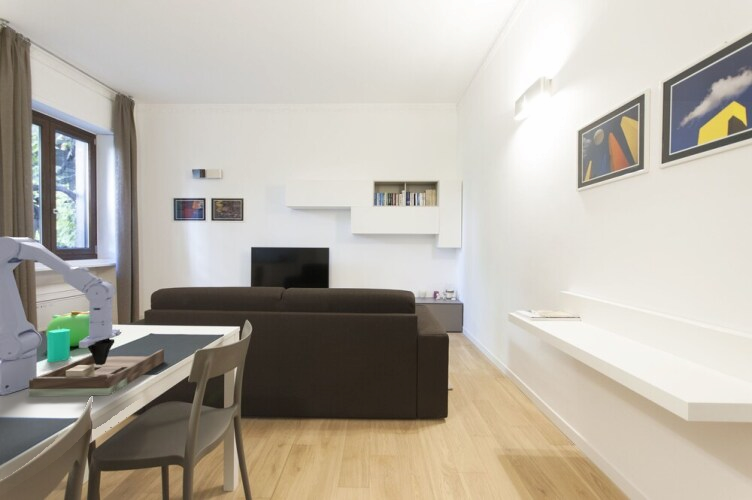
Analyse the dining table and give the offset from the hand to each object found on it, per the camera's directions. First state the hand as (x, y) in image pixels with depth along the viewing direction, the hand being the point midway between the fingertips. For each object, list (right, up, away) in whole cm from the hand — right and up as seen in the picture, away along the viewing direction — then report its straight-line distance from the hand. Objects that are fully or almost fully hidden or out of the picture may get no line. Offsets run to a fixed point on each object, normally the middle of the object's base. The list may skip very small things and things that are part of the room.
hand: (100, 364), depth 108 cm
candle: (-30, -4, +18) cm, 35 cm away
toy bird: (-38, -4, +35) cm, 52 cm away
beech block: (+1, -3, -8) cm, 9 cm away
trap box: (0, -5, +2) cm, 5 cm away
